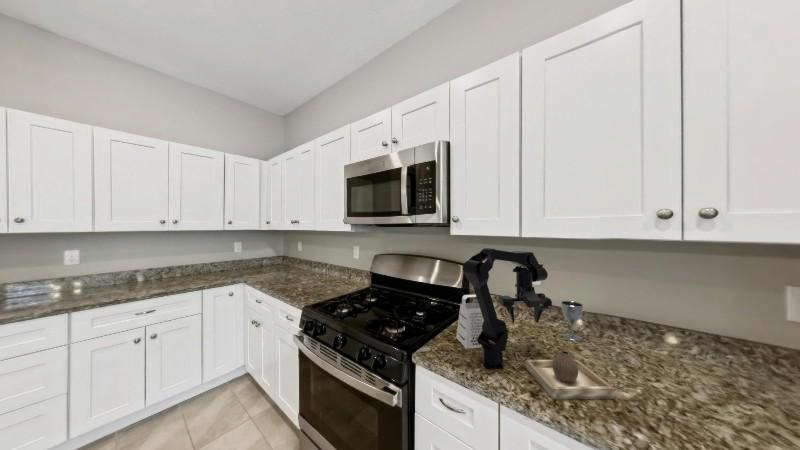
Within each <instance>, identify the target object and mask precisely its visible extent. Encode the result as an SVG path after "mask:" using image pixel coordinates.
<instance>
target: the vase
mask: <svg viewBox="0 0 800 450" xmlns="http://www.w3.org/2000/svg"><path fill="white" fill-rule="evenodd" d="M552 360H553V371H554V374H555V375H556V377H557V378H558V379H559V380H560V381H562V382H565V383H572V382H574V381H575V380H576V379H577V377H578V367H577V364H576V362H575V361H574V360H575V359H574V358H573V357H572V356H571V354H570V352H569V351H567V350H560V352H559V353H558V354H556V356H555V357H554V359H552Z"/></svg>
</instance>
